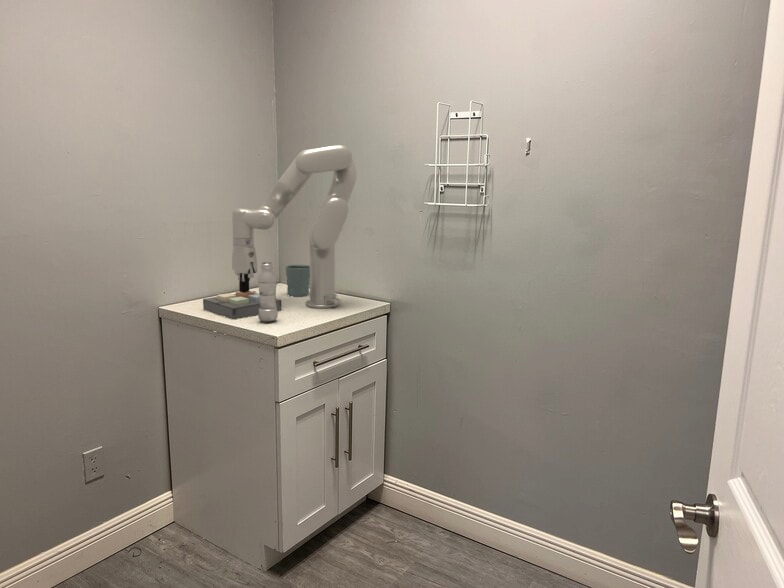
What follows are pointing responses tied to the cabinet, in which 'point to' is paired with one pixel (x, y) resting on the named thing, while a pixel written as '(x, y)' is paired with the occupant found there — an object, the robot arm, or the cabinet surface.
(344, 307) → the cabinet surface
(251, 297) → the slate key
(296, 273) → the teal cup
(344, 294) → the cabinet surface
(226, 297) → the sand key
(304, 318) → the cabinet surface
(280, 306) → the keypad
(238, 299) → the sage key
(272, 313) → the plastic bottle
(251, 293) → the terracotta key
